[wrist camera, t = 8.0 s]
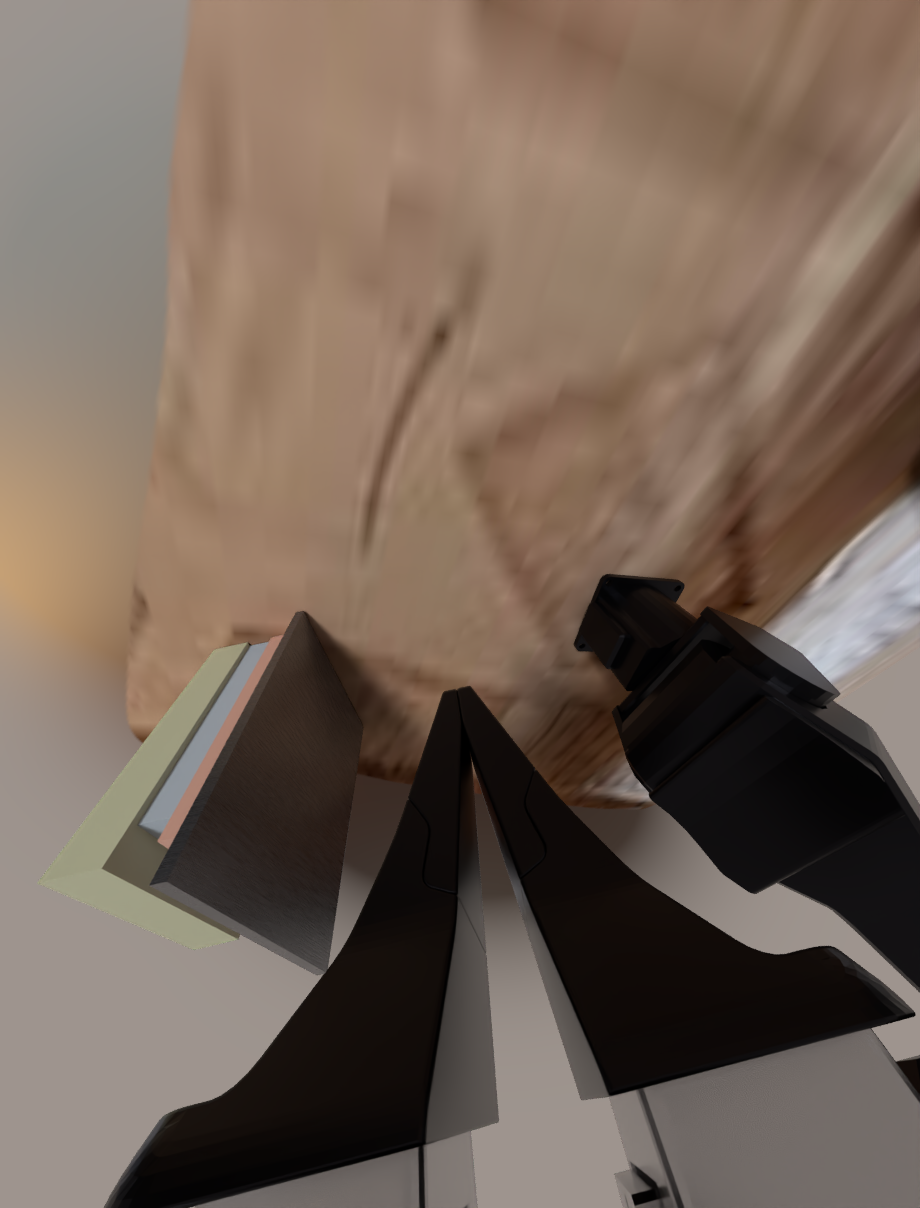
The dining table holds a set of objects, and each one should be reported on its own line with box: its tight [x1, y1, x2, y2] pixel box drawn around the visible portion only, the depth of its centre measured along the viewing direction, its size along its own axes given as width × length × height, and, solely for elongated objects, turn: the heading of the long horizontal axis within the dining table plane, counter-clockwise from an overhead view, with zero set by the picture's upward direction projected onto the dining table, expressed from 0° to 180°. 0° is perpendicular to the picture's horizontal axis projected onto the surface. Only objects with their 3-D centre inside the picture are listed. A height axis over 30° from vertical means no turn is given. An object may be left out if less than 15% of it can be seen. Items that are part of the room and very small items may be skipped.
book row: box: [37, 635, 283, 950], centre depth 19 cm, size 6×9×12 cm, turn 9°
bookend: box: [149, 611, 363, 975], centre depth 18 cm, size 1×12×14 cm, turn 11°
